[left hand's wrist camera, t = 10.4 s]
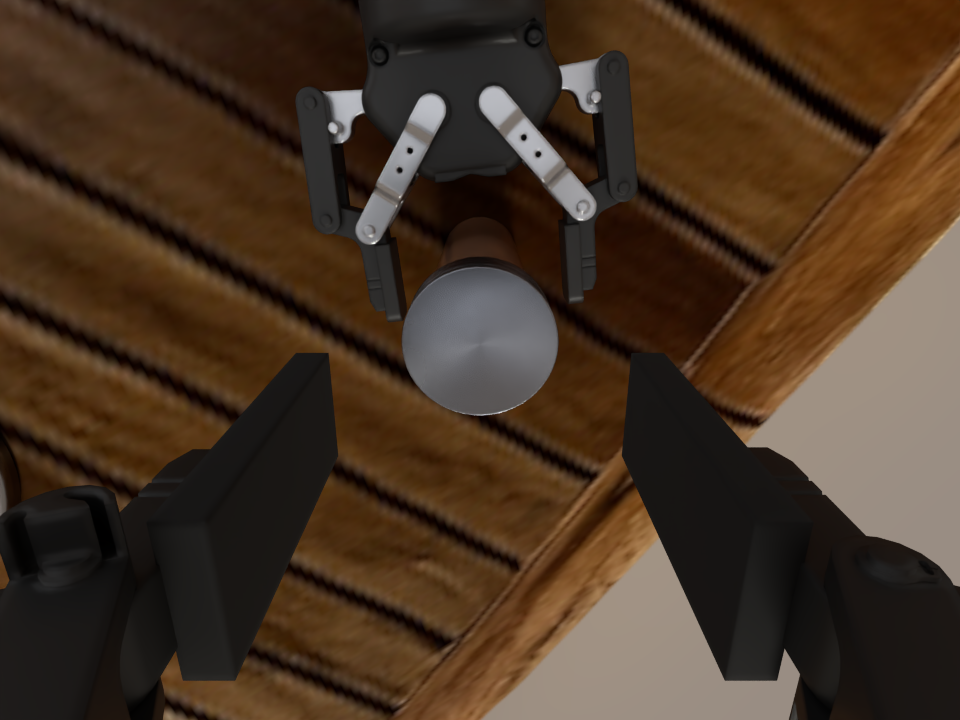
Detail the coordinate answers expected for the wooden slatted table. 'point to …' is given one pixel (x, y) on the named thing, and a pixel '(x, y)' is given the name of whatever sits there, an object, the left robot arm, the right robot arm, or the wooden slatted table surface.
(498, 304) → the lid
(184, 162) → the wooden slatted table surface
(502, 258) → the brown cylindrical rod
